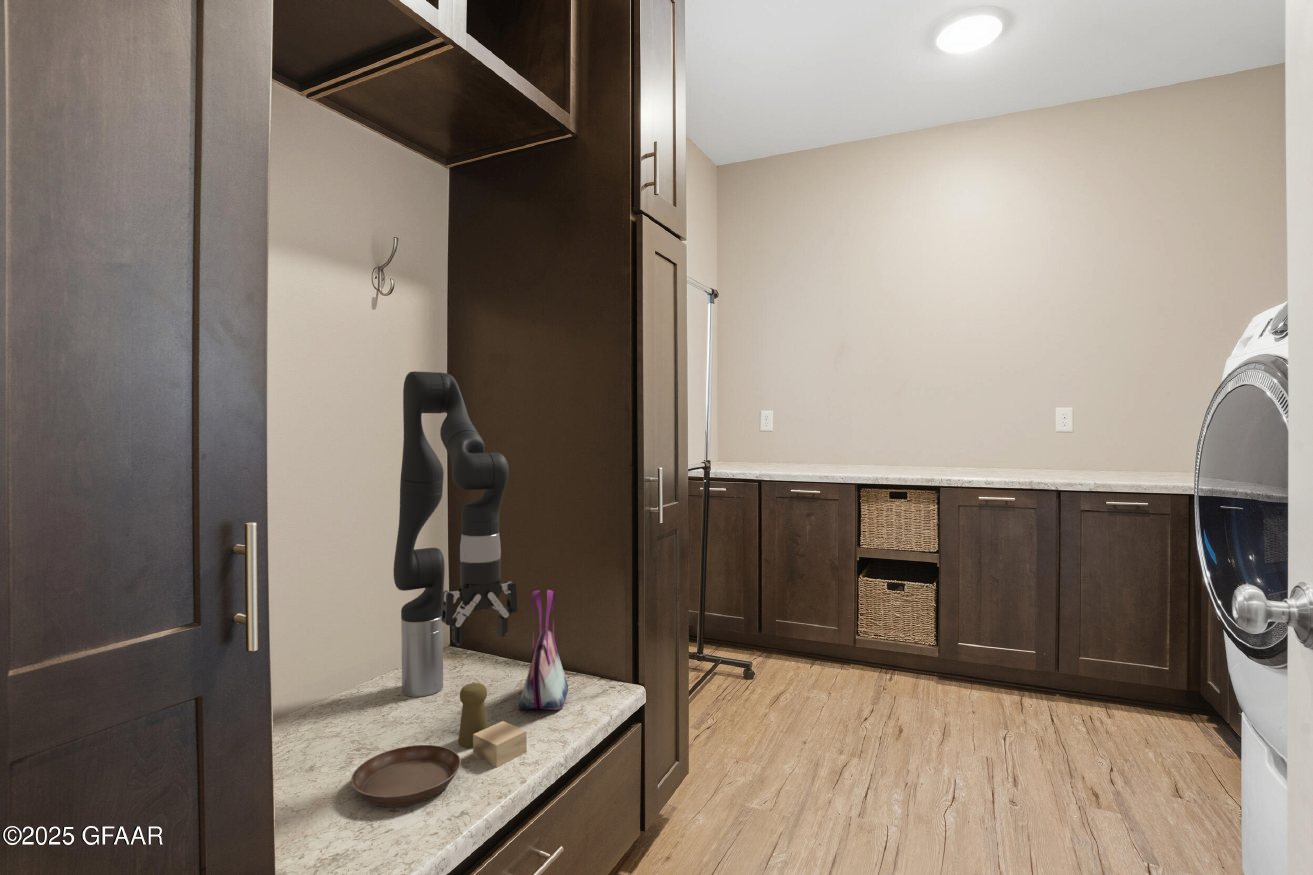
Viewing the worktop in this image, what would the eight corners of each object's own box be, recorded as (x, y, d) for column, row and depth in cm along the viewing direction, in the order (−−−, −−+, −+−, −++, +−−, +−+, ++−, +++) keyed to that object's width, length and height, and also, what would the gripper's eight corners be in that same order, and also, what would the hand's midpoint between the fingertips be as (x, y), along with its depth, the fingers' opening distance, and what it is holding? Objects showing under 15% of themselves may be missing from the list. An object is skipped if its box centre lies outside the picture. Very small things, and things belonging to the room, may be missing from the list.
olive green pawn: (480, 749, 125) (480, 692, 124) (452, 746, 126) (451, 690, 126) (494, 735, 130) (494, 680, 130) (467, 732, 132) (466, 678, 132)
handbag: (530, 681, 158) (529, 579, 158) (571, 681, 158) (570, 579, 158) (512, 721, 136) (511, 603, 136) (560, 720, 137) (559, 602, 136)
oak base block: (473, 755, 122) (472, 734, 122) (502, 741, 128) (502, 721, 128) (496, 767, 118) (496, 745, 118) (526, 751, 124) (526, 730, 123)
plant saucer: (420, 750, 125) (420, 734, 125) (481, 778, 115) (481, 760, 115) (330, 792, 110) (330, 774, 110) (391, 828, 100) (390, 809, 100)
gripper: (506, 549, 132) (506, 628, 132) (436, 557, 123) (436, 642, 124) (523, 555, 126) (522, 638, 126) (450, 565, 117) (450, 653, 118)
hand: (480, 640), depth 125 cm, fingers open, 8 cm apart
